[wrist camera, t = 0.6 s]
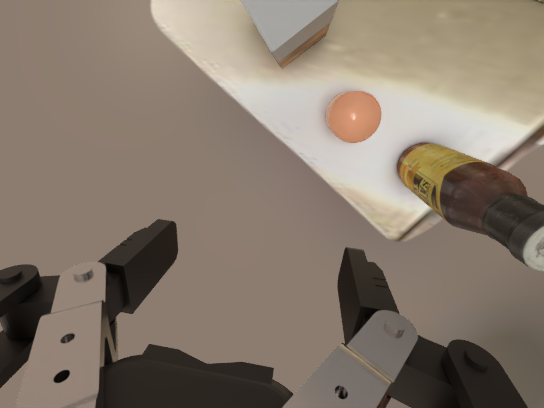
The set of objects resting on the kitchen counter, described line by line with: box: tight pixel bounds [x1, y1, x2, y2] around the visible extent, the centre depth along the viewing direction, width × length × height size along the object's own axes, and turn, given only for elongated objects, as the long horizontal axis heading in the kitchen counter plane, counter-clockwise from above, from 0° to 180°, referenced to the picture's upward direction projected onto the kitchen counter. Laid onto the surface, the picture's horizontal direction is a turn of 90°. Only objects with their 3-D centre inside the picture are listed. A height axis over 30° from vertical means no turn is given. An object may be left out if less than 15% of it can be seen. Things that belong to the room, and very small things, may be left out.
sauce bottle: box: [398, 143, 544, 271], centre depth 25 cm, size 6×6×20 cm
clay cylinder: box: [326, 91, 381, 143], centre depth 30 cm, size 5×5×6 cm
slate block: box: [241, 0, 339, 62], centre depth 22 cm, size 6×6×6 cm
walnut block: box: [278, 23, 330, 68], centre depth 28 cm, size 6×6×6 cm
